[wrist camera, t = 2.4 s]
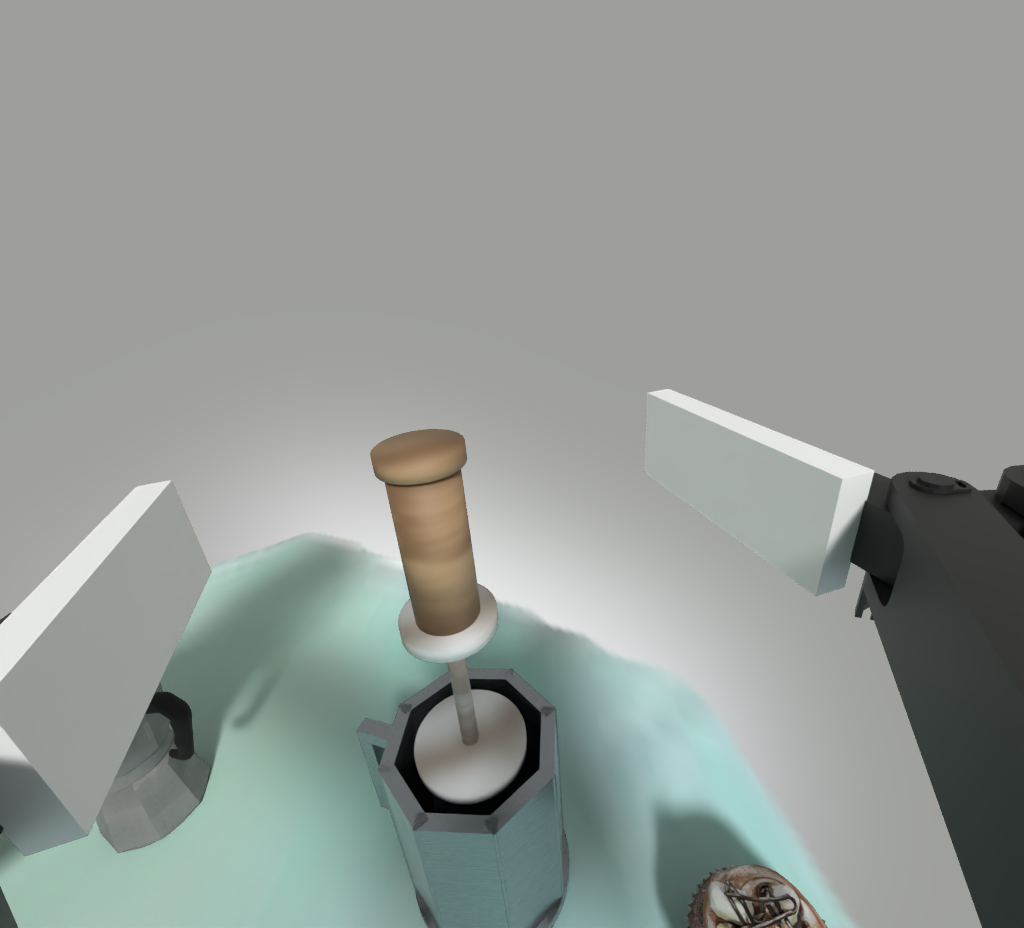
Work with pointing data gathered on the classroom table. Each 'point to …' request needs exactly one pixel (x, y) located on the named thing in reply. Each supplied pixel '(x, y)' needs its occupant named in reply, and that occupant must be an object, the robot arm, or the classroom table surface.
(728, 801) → the classroom table surface
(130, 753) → the coffeepot
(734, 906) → the cupcake
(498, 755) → the plunger
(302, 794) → the classroom table surface
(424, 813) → the press carafe
